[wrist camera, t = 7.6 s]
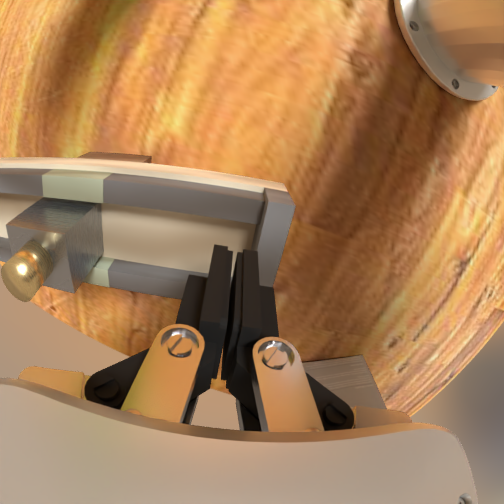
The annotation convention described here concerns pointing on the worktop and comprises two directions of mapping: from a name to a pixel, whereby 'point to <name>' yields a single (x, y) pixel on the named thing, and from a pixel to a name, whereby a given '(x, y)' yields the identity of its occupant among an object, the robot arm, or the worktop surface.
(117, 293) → the worktop surface
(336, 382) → the skincare box
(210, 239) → the stand
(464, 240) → the worktop surface
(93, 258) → the rider
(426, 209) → the worktop surface
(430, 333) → the worktop surface
